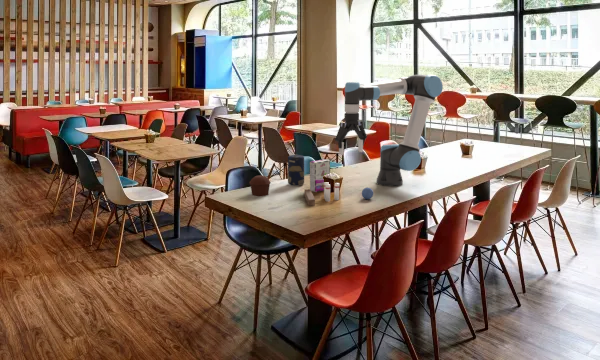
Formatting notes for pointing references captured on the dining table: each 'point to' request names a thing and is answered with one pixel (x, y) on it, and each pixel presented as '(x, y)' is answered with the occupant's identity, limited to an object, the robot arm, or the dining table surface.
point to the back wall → (309, 197)
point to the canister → (296, 170)
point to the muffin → (260, 185)
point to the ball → (367, 193)
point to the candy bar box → (318, 174)
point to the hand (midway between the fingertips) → (351, 153)
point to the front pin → (336, 191)
